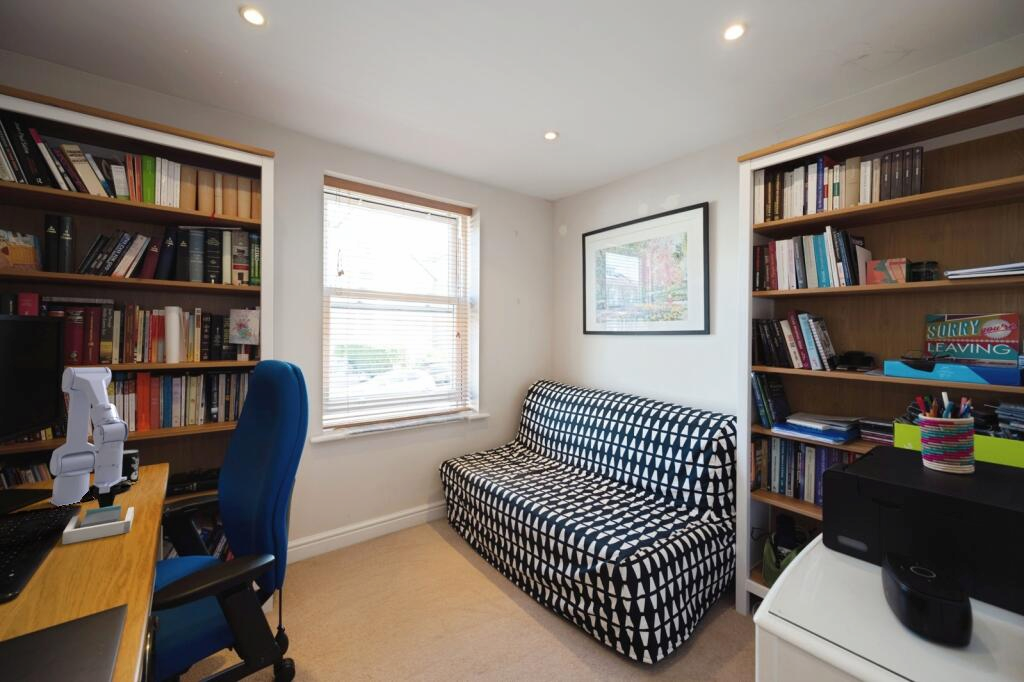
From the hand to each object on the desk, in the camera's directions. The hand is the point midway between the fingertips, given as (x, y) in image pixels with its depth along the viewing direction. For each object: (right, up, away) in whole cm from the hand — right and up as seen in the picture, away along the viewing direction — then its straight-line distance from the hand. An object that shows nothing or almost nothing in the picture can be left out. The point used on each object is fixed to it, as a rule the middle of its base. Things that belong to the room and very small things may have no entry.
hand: (106, 511), depth 119 cm
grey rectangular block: (+5, -2, -7) cm, 9 cm away
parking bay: (+7, -2, -8) cm, 11 cm away
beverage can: (-22, -3, +29) cm, 37 cm away
